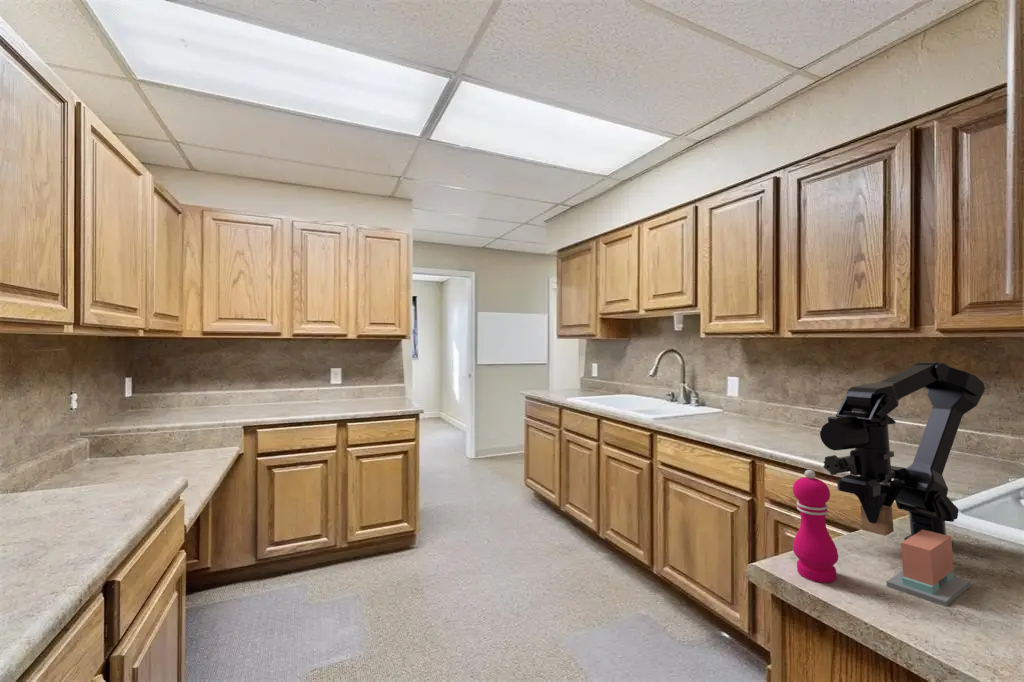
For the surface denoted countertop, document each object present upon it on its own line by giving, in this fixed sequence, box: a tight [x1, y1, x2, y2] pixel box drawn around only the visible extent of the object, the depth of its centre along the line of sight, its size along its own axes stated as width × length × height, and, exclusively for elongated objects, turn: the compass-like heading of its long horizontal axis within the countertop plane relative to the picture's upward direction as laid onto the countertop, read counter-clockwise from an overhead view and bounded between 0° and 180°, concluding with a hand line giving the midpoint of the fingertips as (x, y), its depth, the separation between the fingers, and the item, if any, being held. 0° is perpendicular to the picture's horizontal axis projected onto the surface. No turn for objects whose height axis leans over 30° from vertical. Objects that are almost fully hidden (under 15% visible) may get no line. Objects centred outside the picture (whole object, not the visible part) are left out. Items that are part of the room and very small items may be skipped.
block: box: [860, 504, 895, 537], centre depth 94 cm, size 4×4×5 cm
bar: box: [900, 530, 955, 586], centre depth 80 cm, size 10×4×6 cm, turn 120°
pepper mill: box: [792, 469, 839, 584], centre depth 85 cm, size 7×7×20 cm
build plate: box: [886, 570, 972, 607], centre depth 80 cm, size 12×8×2 cm, turn 120°
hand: (877, 520), depth 94 cm, fingers closed on block, 4 cm apart
